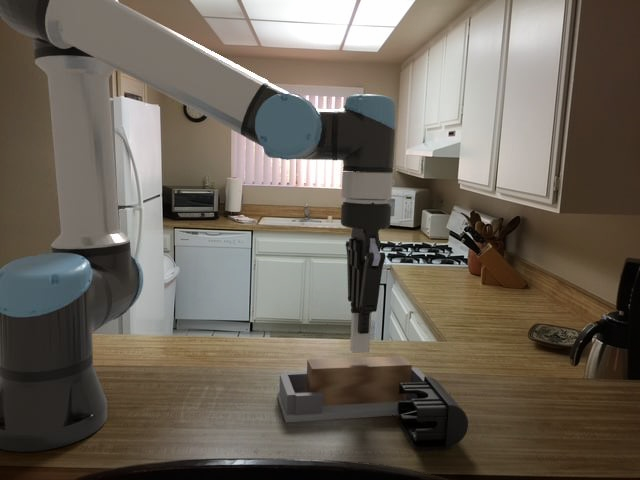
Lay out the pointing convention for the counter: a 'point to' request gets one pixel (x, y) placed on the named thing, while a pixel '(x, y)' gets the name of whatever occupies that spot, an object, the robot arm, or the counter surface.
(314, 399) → the holder
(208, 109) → the robot arm
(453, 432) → the end cap
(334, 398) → the wooden block
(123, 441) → the counter surface
